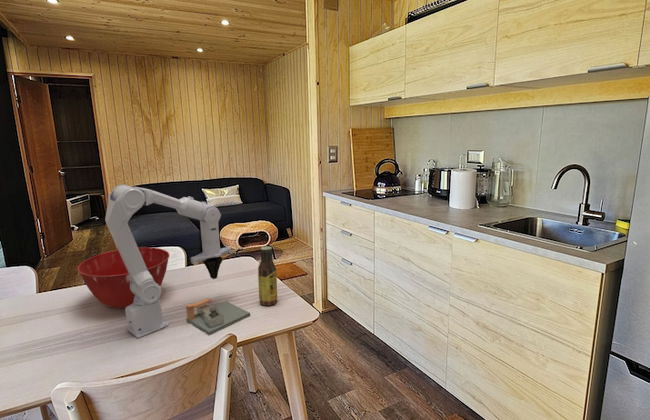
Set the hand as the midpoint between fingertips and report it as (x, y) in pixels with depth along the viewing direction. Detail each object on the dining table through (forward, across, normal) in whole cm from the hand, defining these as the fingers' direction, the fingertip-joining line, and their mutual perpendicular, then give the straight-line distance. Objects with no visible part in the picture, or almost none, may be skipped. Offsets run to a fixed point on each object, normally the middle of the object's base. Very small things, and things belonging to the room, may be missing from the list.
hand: (213, 277), depth 127 cm
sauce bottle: (+10, +12, -14) cm, 21 cm away
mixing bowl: (+10, -18, +26) cm, 33 cm away
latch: (+8, -8, -9) cm, 15 cm away
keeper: (+9, -9, -5) cm, 14 cm away
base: (+9, -6, -10) cm, 15 cm away
